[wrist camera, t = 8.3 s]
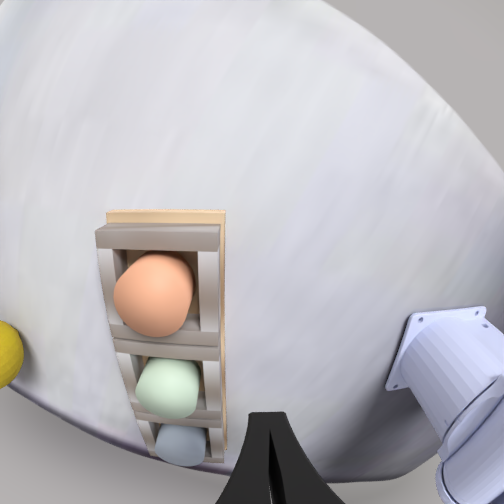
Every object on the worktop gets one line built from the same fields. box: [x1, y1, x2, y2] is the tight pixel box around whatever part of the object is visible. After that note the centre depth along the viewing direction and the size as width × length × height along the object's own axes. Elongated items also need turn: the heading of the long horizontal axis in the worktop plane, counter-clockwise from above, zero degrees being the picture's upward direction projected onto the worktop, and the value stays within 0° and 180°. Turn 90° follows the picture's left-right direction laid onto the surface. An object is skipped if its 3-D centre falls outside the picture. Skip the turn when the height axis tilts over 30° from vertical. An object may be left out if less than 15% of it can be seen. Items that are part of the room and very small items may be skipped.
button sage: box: [135, 356, 201, 419], centre depth 18 cm, size 4×4×3 cm
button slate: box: [155, 423, 207, 466], centre depth 20 cm, size 4×4×3 cm
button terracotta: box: [113, 250, 196, 337], centre depth 15 cm, size 4×4×3 cm
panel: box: [95, 209, 227, 463], centre depth 19 cm, size 22×7×3 cm, turn 178°
